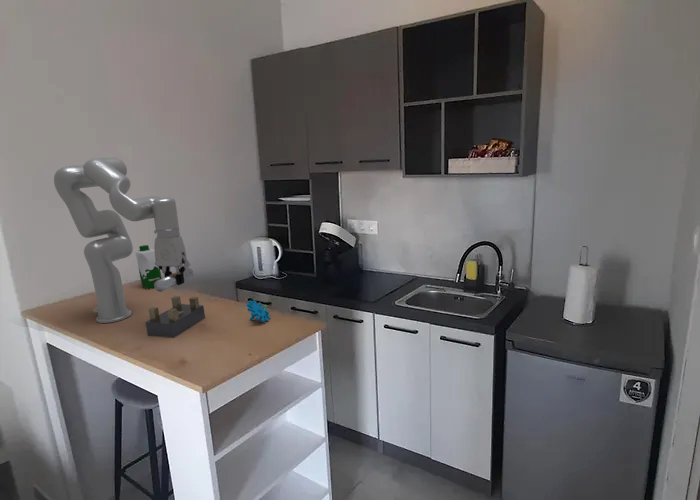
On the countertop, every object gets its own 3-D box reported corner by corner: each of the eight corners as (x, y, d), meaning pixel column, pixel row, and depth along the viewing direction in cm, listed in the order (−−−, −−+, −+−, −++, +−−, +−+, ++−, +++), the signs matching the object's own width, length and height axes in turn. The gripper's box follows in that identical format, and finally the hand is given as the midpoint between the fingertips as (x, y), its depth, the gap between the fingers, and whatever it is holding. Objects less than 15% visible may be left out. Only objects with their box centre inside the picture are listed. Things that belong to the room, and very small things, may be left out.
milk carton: (157, 282, 219) (150, 243, 215) (165, 285, 213) (158, 245, 208) (139, 287, 213) (132, 247, 208) (147, 290, 207) (140, 249, 202)
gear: (262, 322, 154) (244, 302, 156) (252, 333, 156) (234, 313, 157) (276, 315, 165) (259, 295, 166) (267, 325, 166) (249, 306, 168)
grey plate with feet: (147, 335, 153) (143, 311, 151) (180, 316, 170) (177, 294, 168) (174, 337, 150) (169, 312, 148) (205, 317, 167) (201, 295, 165)
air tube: (165, 292, 148) (163, 280, 147) (155, 291, 149) (153, 280, 148) (194, 278, 163) (192, 267, 162) (184, 277, 164) (183, 267, 163)
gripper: (140, 235, 151) (148, 285, 155) (181, 236, 146) (188, 288, 150) (155, 230, 158) (162, 279, 162) (195, 231, 153) (201, 281, 157)
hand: (175, 283), depth 156 cm, fingers closed on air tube, 4 cm apart
